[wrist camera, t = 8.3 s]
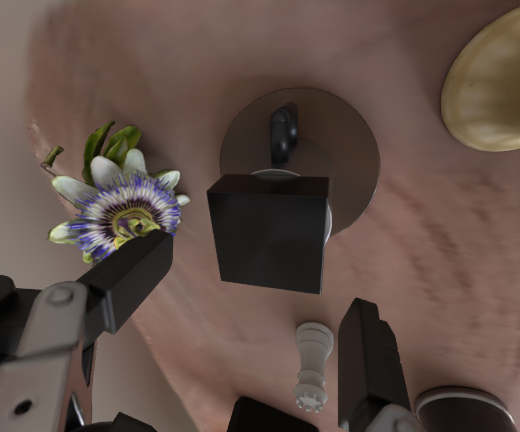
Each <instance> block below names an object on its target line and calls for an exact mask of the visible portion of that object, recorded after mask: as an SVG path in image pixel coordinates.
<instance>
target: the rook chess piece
mask: <svg viewBox="0 0 520 432" xmlns="http://www.w3.org/2000/svg"><path fill="white" fill-rule="evenodd" d="M296 335H297V336H296V345H297V347H298V350H299V353H300V357H301V369H300V372H299V373H298V379H299V383H298V384H297V385H296V386H295V387H294V391H293V392H294V394H295V395H296V397H297V398H296V403H298V406H299V407H300V408H303V404H304V405H305V406H306V409H305V411H308V412H311V407H314V411H315V413H317V412H320V409H321V410H322V409H323V404H324V403H325V402H326V401H327V395H326V392H325V391H324V389H323V385H324V384H325V381H326V380H325V378H324V368H325V362H326V359H327V358H328V357H329V354H330V353H331V352H332V350H333V345H334V344H333V342H334V336H333V333H332V332H331V331H330V329H329V328H328V327H327V326H325V325H323V324H321V323H318V322H306V323H304V324H302V325H300V326H299V327H298V329H297V331H296Z"/></svg>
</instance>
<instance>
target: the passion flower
mask: <svg viewBox="0 0 520 432" xmlns="http://www.w3.org/2000/svg"><path fill="white" fill-rule="evenodd" d="M113 125H115V121H114V120H112V121H110V122H108V123H107V124H106V125H104V126H102V127H101V128H100V129H97V130H96V131H95V133H93V134H91V135H90V136H89V137H88V140H87V142H86V145H85V150H84V169H83V171H82V175H83V178H84V179H85V181H86V182H85V183H84V182H81V181H79V180H77V179H75V178H71V177H69V176H65V175H60V176H56V175H55V174H53V173H52V172H50V171H49V170H47V169H46V167H50V168H52V164H53V162H54V160H55V157H56V156H57V155H58V154H60V153H61V152H63V151H64V149H63V148H62V147H61V146H55V147H54V149H53V150H52V151H51V152H50V153H49V154H48V156H47V157H46V160H45V161H44V162H42V164H41V167H42V168H43V169H45V170H46V171H47V172H48V173H50V174H51V175H53V176H54V178H53V179H52V181H51V183H52V185H53V186H54V187H55V188H56V190H57V191H58V192H59V193H60V195H61V196H62V197H63V198H65V199H66V200H68V201H70V202H71V203H72V204H73V205H74V206H75V207H76V208H77V209H79V210H81V211H82V214H81V215H77V214H76V216H79V217H78V218H75V219H73V220H69V221H67V222H64V223H62V224H59V225H58V226H57V227H55V228H53V229H51V230H50V231H49V234H48V238H47V240H50V241H52V242H54V243H60V244H62V243H71V244H75V245H79V246H78V249H80V250H84V252H83V261H84V262H85V263H90V262H91V261H92V260H93V265H92V267H94V266H96V265H97V264H98V263H99V262H100V261H101V260H103V259H104V258H106V257H107V256H110V254H111V253H112V252H113V251H115V250H117V249H118V247H120V246H121V245H122V244H124V243H125V242H126V241H127V240H130V239H132V238H135V237H137V236H143V237H144V236H146V235H147V234H148V233H149V232H150V231H152V230H153V229H155V228H157V229H160V230H163V231H166V232H168V233H171V234H173V236H175V235H176V231H177V228H176V226H177V225H178V224H180V223H181V222H182V220H181V219H180V215H181V212H180V211H181V208H180V207H182V206H184V205H185V204H187V203H189V202H190V199H189V197H188V196H187V195H183V194H179V193H176V194H175V191H174V190H172V189H173V188H174V187H175V186H176V184H177V183H178V181H179V178H180V172H179V171H177V170H172V169H165V170H162V171H160V172H158V173H156V174H149V173H148V171H147V169H146V164H145V160H144V155H143V154H142V152H141V151H140V150H138V149H136V148H135V146H136V144H137V143H138V142H139V140H140V139H141V136H142V133H141V132H140V131H139V129H138V128H137V127H135V126H133V125H132V126H126V127H125V128H123V129H120V130H119V131H117V132H116V133H115V134H114V135H112V137H110V138H109V141H108V144H107V146H106V148H105V150H104V152H103V156H100V151H101V148H102V146H103V144H104V141H105V139H106V137H107V134H108V132H109V130H110V128H111V126H113Z"/></svg>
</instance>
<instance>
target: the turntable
mask: <svg viewBox="0 0 520 432" xmlns="http://www.w3.org/2000/svg"><path fill="white" fill-rule="evenodd" d="M288 102H293V103H295V104H296V105H297V108H298V135H297V138H300V139H305V140H308V141H310V142H312V143H314V144H316V145H317V146H319V147H320V148H321V149H322V150H323V151H324V152H325V153H326V155H327V156H328V158H329V160H330V162H331V165H332V169H333V195H332V226H331V232H330V235H329V237H331V236H334V235H336V234H338V233H340V232H342V231H343V230H345V229H346V228H348V227H349V226H351V225H352V224H353V223H354V222H355V221H357V219H358V218H359V217H360V216H361V215H362V214H363V213H364V212H365V210H366V209H367V207H368V206H369V204H370V203H371V201H372V199H373V197H374V194H375V192H376V189H377V186H378V181H379V176H380V158H379V151H378V147H377V143H376V141H375V138H374V136H373V134H372V132H371V130H370V128H369V127H368V125H367V123H366V122H365V120H364V119H363V118H362V116H361V115H360V114H359V113H358V112H357V111H356V110H355V109H354V108H353V107H352V106H351V105H350V104H349V103H347V102H345V101H344V100H342V99H341V98H339V97H337V96H335V95H333V94H331V93H329V92H325V91H322V90H318V89H313V88H305V87H302V88H288V89H282V90H279V91H276V92H272V93H269V94H267V95H265V96H263V97H261V98H259V99H257V100H256V101H254V102H253V103H251V104H250V105H248V106H247V107H246V108H245V109H244V110H243V111H242V112H241V113H240V114H239V115H238V116H237V117H236V118H235V120H234V121H233V123H232V124H231V126H230V127H229V129H228V131H227V133H226V136H225V138H224V141H223V145H222V148H221V155H220V173H221V177H222V176H223V175H224V174H246V172H247V171H248V170H249V169H250V168H251V167H252V166H253V164H254V163H255V162H256V161H257V160H258V159H259V158H260V156H261V155H262V154H263V153H264V152H265V151H266V150H267V149H268V148H269V147H270V122H269V120H270V116H271V114H272V113H273V112H274V111H275V110H277V109H278V108H280V107H281V106H283V105H285V104H286V103H288Z"/></svg>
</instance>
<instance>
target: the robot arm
mask: <svg viewBox="0 0 520 432" xmlns="http://www.w3.org/2000/svg"><path fill="white" fill-rule="evenodd" d="M172 260H173V234H171V233H168V232H166V231H163V230H160V229H157V228H155V229H153V230H152V231H150V232H149V233H148V234H147V235H146V236H144V237H143V236H137V237H135V238H132V239H130V240H127V241H126V242H125V243H124V244H122V245H121V246H120V247H118V249H117V250H115V251H113V252H112V253H111V254H110V256H107V257H106V258H104V259H103V260H102V261H101V262H99V263H98V264H97V265H96V266H94V267H93V268H92V269H90V270H89V271H88V272H87V273H85V274H84V275H83V276H82V277H80V278H79V279H78V280H76V281H65V282H60V283H56V284H54V285H51V286H49V287H47V288H46V289H44V290H35V289H20V288H16V287H15V285H14V283H13V280H12V279H11V278H9V277H7V276H4V275H0V432H157V431H156V430H155V429H154V428H153V427H152V426H150V425H148V424H146V423H144V422H141V421H139V420H137V419H134V418H132V417H130V416H128V415H125V414H123V413H121V412H119V413H118V414H117V416H116V418H115V419H114V421H113V422H98V423H93V424H92V384H93V375H94V366H95V357H96V347H97V338H98V337H99V335H100V334H101V333H102V332H103V331H106V332H108V333H111V334H113V335H114V334H115V333H116V332H117V331H118V330H119V329H120V328H121V326H122V325H123V324H124V323H125V322H126V321H127V319H128V318H129V317H130V316H131V315H132V314H133V312H134V311H135V310H136V309H137V308H138V307H139V305H140V304H141V303H142V302H143V301H144V300H145V298H146V297H147V296H148V295H149V294H150V293H151V292H152V290H153V289H154V288H155V287H156V286H157V285H158V283H159V282H160V281H161V280H162V279H163V278H164V276H165V275H166V274H167V273H168V271H169V269H170V267H171V265H172ZM397 350H398V347H397V343H396V338H395V335H394V333H393V331H392V330H391V328H390V326H389V325H388V323H387V322H386V321H383V320H380V319H379V313H378V307H377V305H376V304H375V303H372V302H369V301H366V300H363V299H360V298H355V299H354V301H353V302H352V304H351V306H350V307H349V309H348V311H347V313H346V314H345V316H344V318H343V320H342V322H341V324H340V327H339V332H338V427H340V428H342V429H345V430H347V431H349V432H518V431H517V429H516V427H515V425H514V422H513V419H512V417H511V415H510V413H509V411H508V409H507V407H506V406H505V405H504V404H503V403H502V402H501V401H500V400H499V399H497V398H496V397H494V396H492V395H490V394H487V393H485V392H482V391H478V390H474V389H469V388H460V387H446V388H438V389H434V390H431V391H428V392H426V393H424V394H422V395H421V396H419V397H418V399H417V400H416V402H415V410H416V415H417V416H415V415H414V414H413V413H412V410H411V407H410V402H409V397H408V393H407V388H406V384H405V379H404V375H403V370H402V365H401V363H400V356H399V352H398V351H397Z"/></svg>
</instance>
